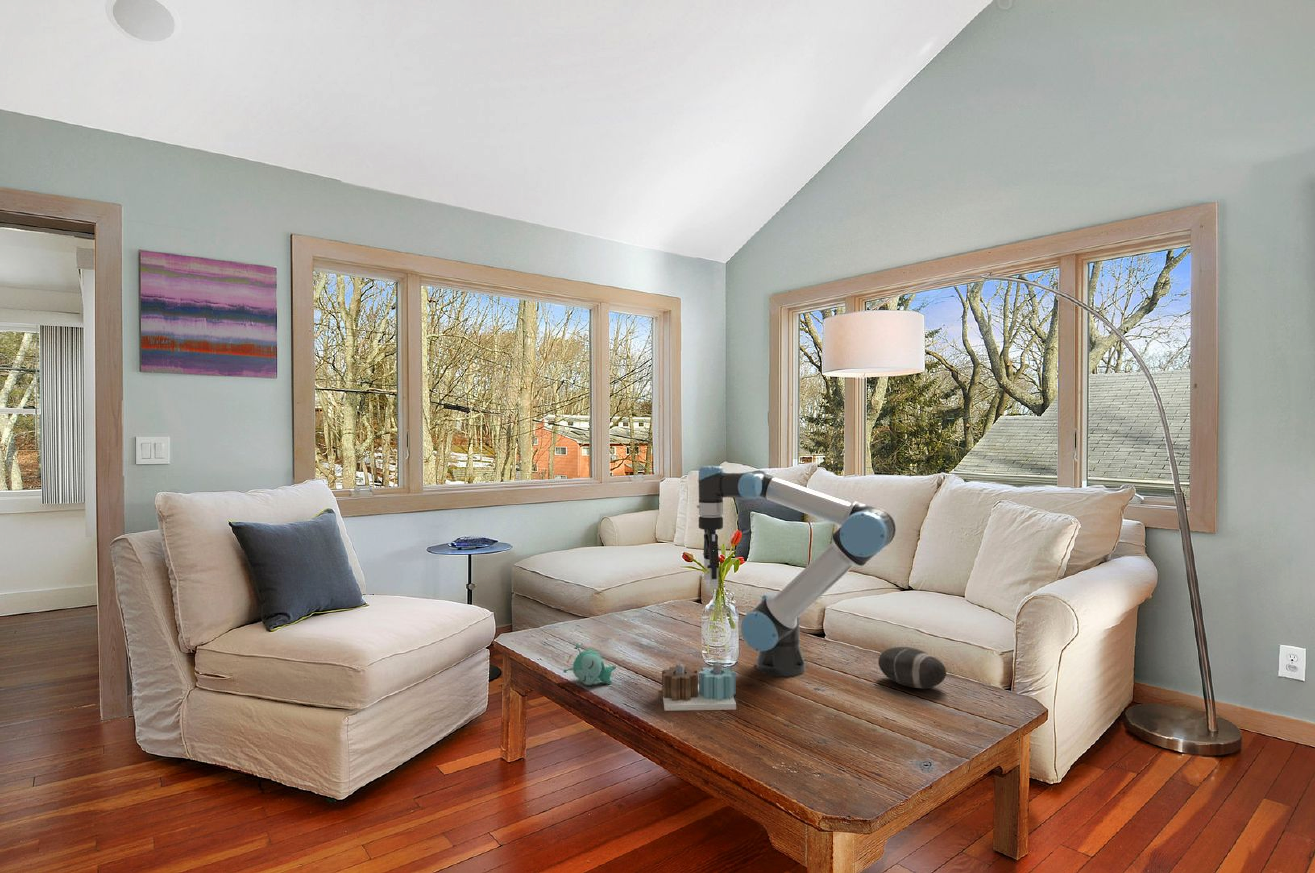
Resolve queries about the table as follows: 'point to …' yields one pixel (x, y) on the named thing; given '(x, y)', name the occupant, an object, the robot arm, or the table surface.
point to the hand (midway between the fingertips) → (711, 584)
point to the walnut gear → (679, 684)
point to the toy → (590, 667)
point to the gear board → (699, 697)
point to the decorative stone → (912, 667)
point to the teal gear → (717, 684)
